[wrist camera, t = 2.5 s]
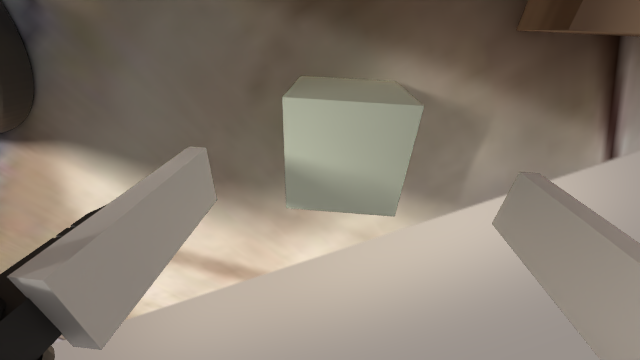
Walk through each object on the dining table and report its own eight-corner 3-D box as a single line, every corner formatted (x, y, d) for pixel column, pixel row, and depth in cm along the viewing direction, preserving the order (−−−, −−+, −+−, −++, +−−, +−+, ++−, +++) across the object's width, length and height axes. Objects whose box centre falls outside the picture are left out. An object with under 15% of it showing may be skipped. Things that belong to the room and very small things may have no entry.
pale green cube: (300, 159, 19) (286, 208, 13) (300, 75, 15) (282, 97, 10) (379, 165, 18) (394, 216, 13) (395, 81, 15) (424, 106, 10)
